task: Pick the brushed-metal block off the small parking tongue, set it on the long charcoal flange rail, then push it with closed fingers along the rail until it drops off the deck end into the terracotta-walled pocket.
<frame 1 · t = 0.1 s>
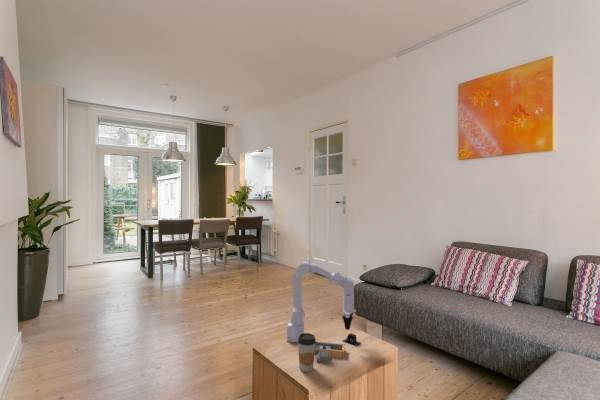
hand: (347, 326, 171), 10 cm above the table, fingers open, 7 cm apart
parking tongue: (323, 359, 155), on the table
coffee cup: (306, 369, 147), on the table
black boxy piece: (351, 343, 175), on the table
metal block: (323, 355, 155), point 2 cm above the table, touching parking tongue
flange rail: (327, 352, 163), on the table
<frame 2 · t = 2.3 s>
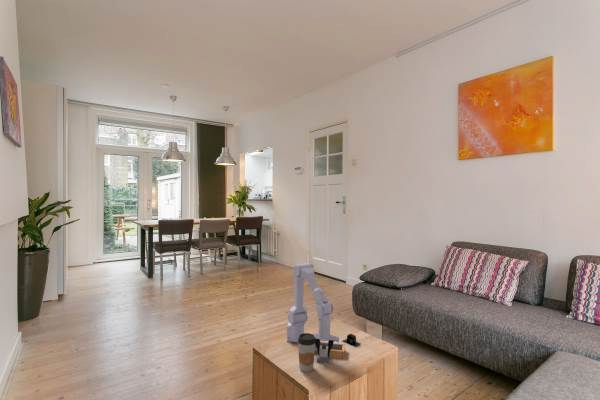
hand: (323, 354, 155), 2 cm above the table, fingers closed on metal block, 4 cm apart
metal block: (323, 355, 155), point 2 cm above the table, touching gripper, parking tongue
when the fingers open (3 cm above the table, at t = 4.8 s): metal block stays where it is, resting on flange rail.
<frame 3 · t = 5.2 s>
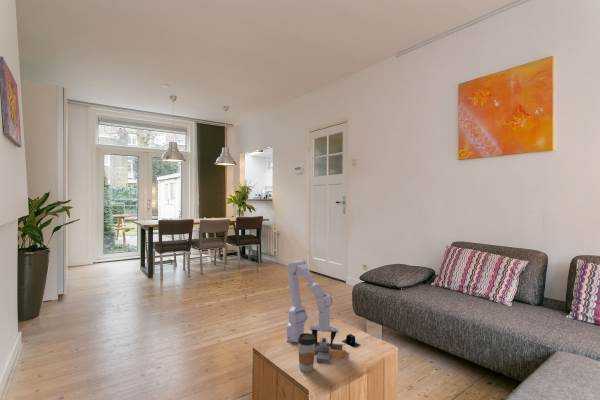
hand: (323, 345, 163), 3 cm above the table, fingers open, 7 cm apart
metal block: (323, 348, 163), point 2 cm above the table, touching flange rail
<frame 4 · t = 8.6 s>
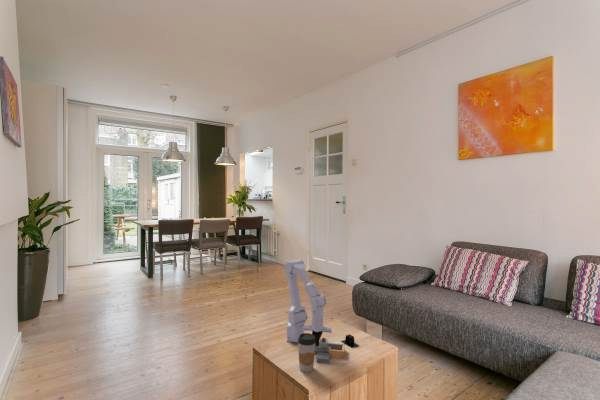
hand: (317, 345, 164), 3 cm above the table, fingers closed
metal block: (323, 348, 163), point 2 cm above the table, touching flange rail, gripper
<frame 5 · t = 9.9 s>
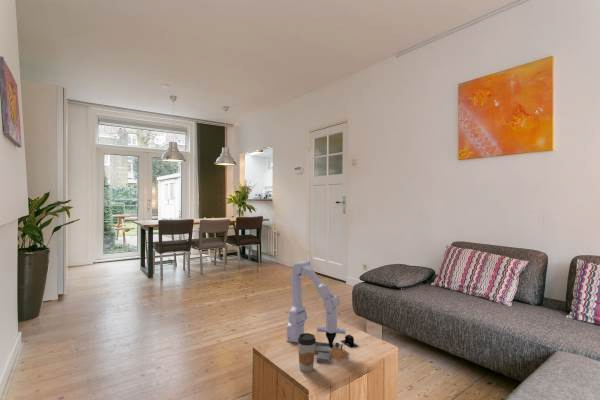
hand: (330, 346, 162), 3 cm above the table, fingers closed
metal block: (334, 352, 162), point 1 cm above the table, tilted 24°, touching gripper
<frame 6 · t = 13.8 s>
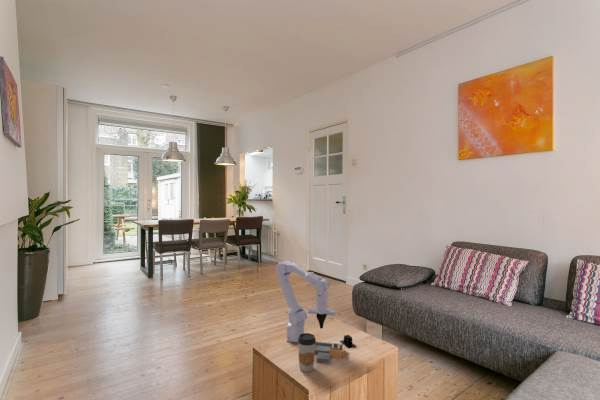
hand: (321, 327, 168), 10 cm above the table, fingers closed
metal block: (335, 354, 161), resting in flange rail
at the end: metal block 0.7 cm from the target spot on the flange rail, point 0.0 cm above the flange rail's base; metal block touching table; the gripper is holding nothing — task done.
